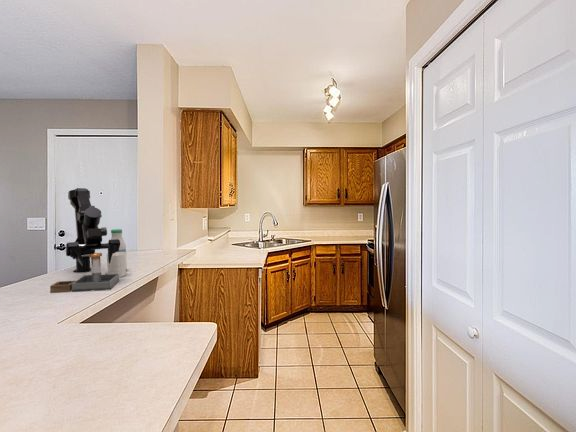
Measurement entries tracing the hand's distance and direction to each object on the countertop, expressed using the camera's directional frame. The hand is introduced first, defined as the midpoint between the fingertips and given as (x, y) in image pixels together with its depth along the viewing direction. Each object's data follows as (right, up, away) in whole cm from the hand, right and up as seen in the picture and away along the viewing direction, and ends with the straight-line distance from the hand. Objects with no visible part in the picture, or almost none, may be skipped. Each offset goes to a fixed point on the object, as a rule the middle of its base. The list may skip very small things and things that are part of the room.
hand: (96, 264), depth 130 cm
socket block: (-10, -9, -4) cm, 14 cm away
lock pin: (-1, -8, +2) cm, 8 cm away
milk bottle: (-5, -7, +26) cm, 28 cm away
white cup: (-1, -8, +18) cm, 20 cm away
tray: (-1, -9, +2) cm, 9 cm away
